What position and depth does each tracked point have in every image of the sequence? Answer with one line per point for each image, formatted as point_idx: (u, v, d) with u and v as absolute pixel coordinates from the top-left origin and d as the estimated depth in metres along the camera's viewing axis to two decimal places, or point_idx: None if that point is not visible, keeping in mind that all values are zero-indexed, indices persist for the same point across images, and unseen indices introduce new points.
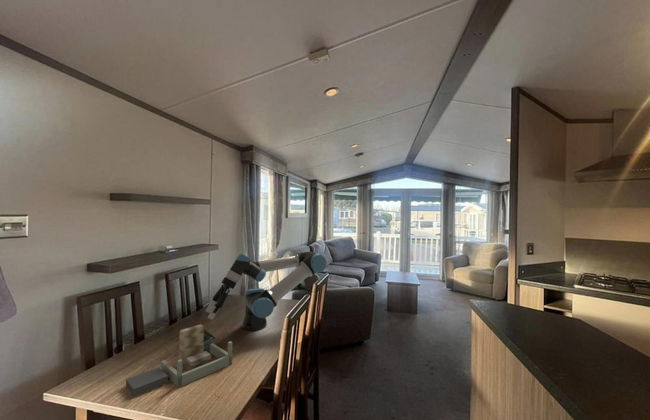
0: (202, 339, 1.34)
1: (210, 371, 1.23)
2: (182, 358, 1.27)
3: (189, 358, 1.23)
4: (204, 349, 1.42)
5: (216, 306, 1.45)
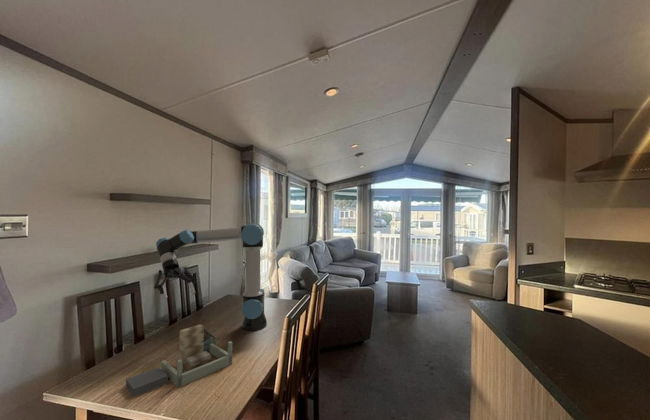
0: (202, 339, 1.34)
1: (210, 371, 1.23)
2: (182, 358, 1.27)
3: (189, 358, 1.23)
4: (204, 349, 1.42)
5: None
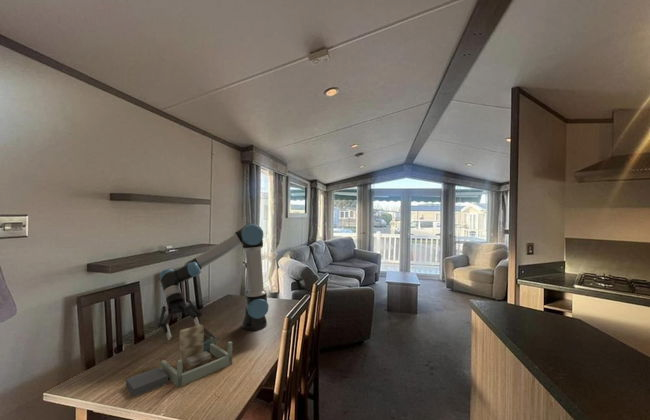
0: (202, 339, 1.34)
1: (210, 371, 1.23)
2: (182, 358, 1.27)
3: (189, 358, 1.23)
4: (204, 349, 1.42)
5: None
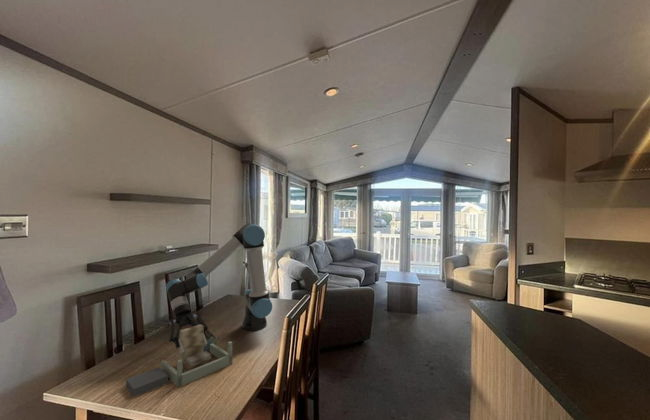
0: (202, 339, 1.34)
1: (210, 371, 1.23)
2: (182, 358, 1.27)
3: (189, 358, 1.23)
4: (204, 349, 1.42)
5: None
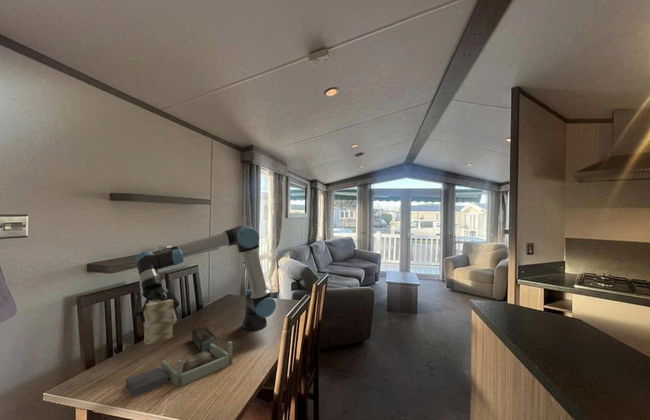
0: (172, 315, 1.22)
1: (210, 371, 1.23)
2: (147, 334, 1.15)
3: (189, 358, 1.23)
4: (205, 349, 1.42)
5: None
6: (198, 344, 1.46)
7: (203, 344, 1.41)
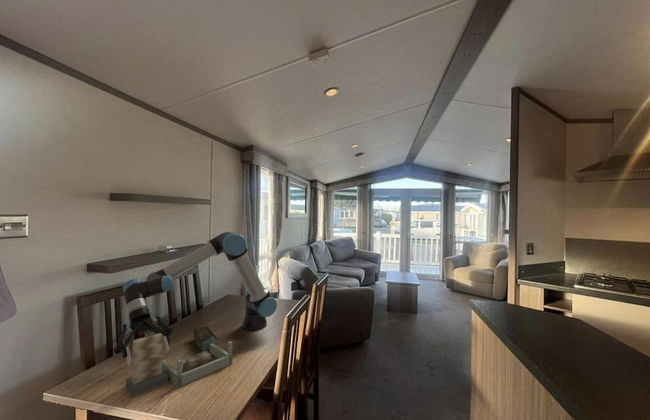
0: (161, 350, 1.17)
1: (210, 371, 1.23)
2: (135, 373, 1.10)
3: (189, 358, 1.23)
4: (205, 349, 1.42)
5: None
6: (199, 344, 1.46)
7: (203, 344, 1.42)
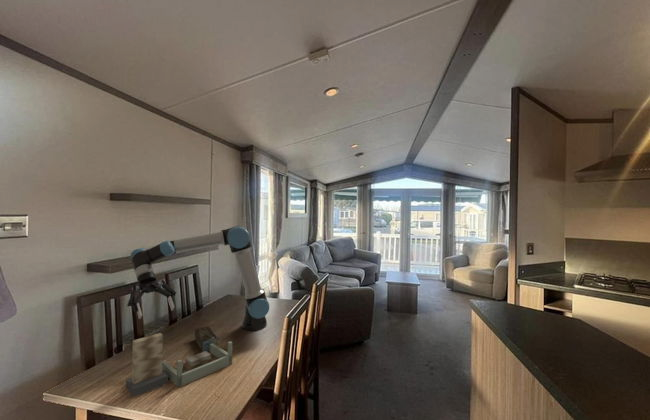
0: (161, 350, 1.17)
1: (210, 371, 1.23)
2: (135, 373, 1.10)
3: (189, 358, 1.23)
4: (205, 349, 1.42)
5: None
6: (199, 344, 1.46)
7: (203, 344, 1.42)
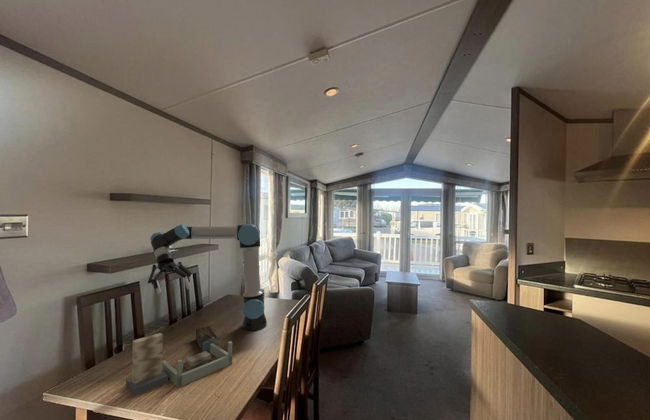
0: (161, 350, 1.17)
1: (210, 371, 1.23)
2: (135, 373, 1.10)
3: (189, 358, 1.23)
4: (205, 348, 1.42)
5: None
6: (200, 343, 1.46)
7: (204, 344, 1.42)
